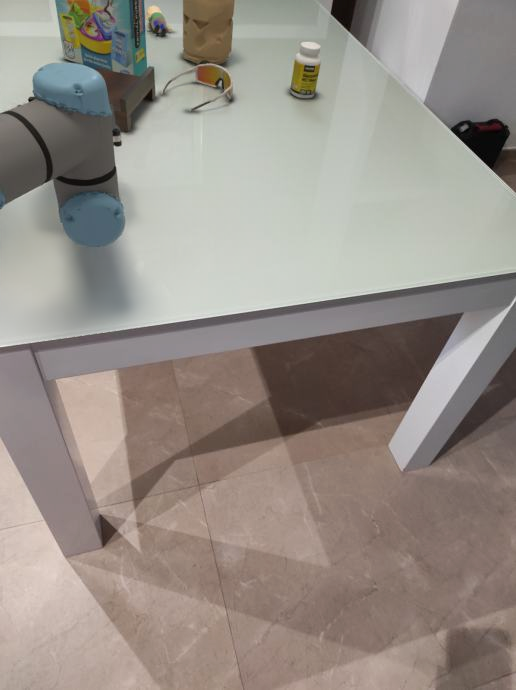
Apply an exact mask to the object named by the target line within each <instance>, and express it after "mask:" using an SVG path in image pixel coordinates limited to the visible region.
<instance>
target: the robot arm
mask: <svg viewBox="0 0 516 690" xmlns="http://www.w3.org/2000/svg"><path fill="white" fill-rule="evenodd" d="M53 63H54V64H51V63H48V64H49V65H48V64H45V65H43V66H41V67H39V68H38V69H37V71H35V73H34V74H33V76H32V94H33V96H29V97H28V98H27V101H28V102H26V103H23V104H18V105H17V106H15V107H13V108H10V109H7V110H5V111H3V112H0V210H2V209H3V208H4V207H5V206H6V205H8V204H10V203H11V202H13V201H14V200H16V199H18V198H20V197H22V196H24V195H26V194H27V193H29V192H32V191H34V190H35V189H37V188H39V187H41V186H43V185H44V184H47V183H49V182H50V181H52V182H53V187H54V192H55V196H56V202H57V207H58V217H59V221H60V223H61V225H62V228H63V231H64V233H65V235H66V236H67V237H68V238H69V240H70V241H72V242H74V243H75V244H77V245H79V246H81V247H85V248H89V249H97V248H103V247H107V246H110V245H111V244H114V243H115V242H116V241H117V240H118V239H119V238H120V237H121V236H122V235H123V232H124V230H125V228H126V227H125V226H126V217H125V211H124V210H125V207H124V204H123V203H122V200H121V196H120V190H119V189H120V188H119V180H118V179H119V178H118V171H117V170H118V169H117V166H116V156H115V147H116V148H119V147H122V145H123V141H122V133H121V132H122V131H121V130H120V128H119V127H118V126H117V125H116V124H115V115H114V106H113V102H111V101H109V96H108V92H107V87H106V83H105V80H104V78H103V77H102V75H101V74H100V73H99V72H97V71H96V70H94V69H92V68H90V67H88V66H85V65H82V64H79V63H76V62H53Z"/></svg>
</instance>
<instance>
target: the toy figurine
mask: <svg viewBox="0 0 516 690" xmlns="http://www.w3.org/2000/svg"><path fill="white" fill-rule="evenodd" d="M145 21H148V23H149V26H150V27H151V28H152V30H153V32H154V33H155V34H160V36H161V37H163V38H164V37H165V36H166V34H167V32H168V33H171V32H172V31H173V28H172V27H171V26H169V25H168V24H167V20H166V18H165V17H164V14H163V13H162V11H161V9H160V8H159V6H157V5H151V6H149V7H148V8H147V11H146V14H145Z"/></svg>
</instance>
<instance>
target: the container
mask: <svg viewBox="0 0 516 690" xmlns="http://www.w3.org/2000/svg"><path fill="white" fill-rule="evenodd" d="M235 1H236V0H182V48H183V49H182V58H183V59H184V60H187V61H191V62H192V63H194V64H196V65H200V63H202V62H204V63H209V64H216V65H220V64H223V63H225V62H226V61H227V60H228V59H229V58H230V54H231V53H232V46H233V33H234V32H233V30H234V20H233V17H234V13H235Z"/></svg>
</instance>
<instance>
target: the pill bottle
mask: <svg viewBox="0 0 516 690" xmlns="http://www.w3.org/2000/svg"><path fill="white" fill-rule="evenodd" d="M299 51H300V52H298V53H297V54H296V55H295V58H294V64H293V70H292V75H291V82H290V89H289V91H290V94H291V95H292V96H294V97H296V98H299V99H311V98H313V97H315V94H316V90H317V85H318V79H319V74H320V69H321V65H322V58H321V57H320V55H319V54H320V53H321V45H320V44H319V43H316V42H314V41H302V42H300V45H299Z"/></svg>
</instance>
